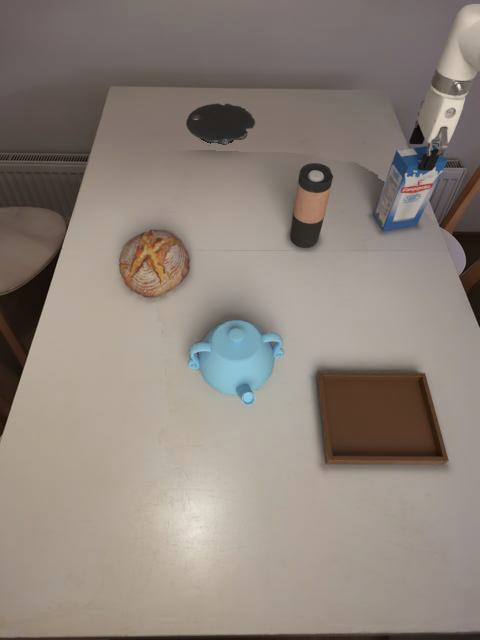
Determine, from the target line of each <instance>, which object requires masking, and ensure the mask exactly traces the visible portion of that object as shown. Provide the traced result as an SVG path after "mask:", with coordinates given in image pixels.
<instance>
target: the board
mask: <svg viewBox="0 0 480 640" xmlns="http://www.w3.org/2000/svg"><path fill="white" fill-rule="evenodd" d="M195 119H198V120H195ZM185 125H186V126H185V127H186V129H187V130H188V132H189V133H190V134H191V135H192V136H194V137H196V138H197V137H198V138H200V139H201V140H203V141H205V142H207V143H210V144H211V143H218V144H222V145H227V144H229V143H232V142H233V141H234V140H241V141H244V140H245V139H246V138H247V137H248V134H249V133H248V132H249V131H248V130H250V129H254V128H255V126H256V120H255V118H254V117H253V115H252V114H251V112H250V111H248V110H247V109H246V108H245V107H242V106H240V105H235V104H231V103H225V104H222V103H218V102H217V103H209V104H204V105H201V106H198V107H197V108H196V109H194V110H192V111H191V113H189V114H188V116H187V119H186V123H185ZM198 138H197V139H198ZM200 139H199V140H200ZM201 140H200V141H201Z"/></svg>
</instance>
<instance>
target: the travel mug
mask: <svg viewBox="0 0 480 640" xmlns="http://www.w3.org/2000/svg"><path fill="white" fill-rule="evenodd" d="M333 179H334V174H333V173H332V171H331V168H330V167H329V166H328V165H327V164H323V163H319V162H310V163H307V164H304V165H303V166H302V167H300V170H299V174H298V179H297V186H296V193H295V196H294V197H295V198H294V204H293V209H292V210H293V211H292V219H291V226H290V227H291V228H290V241H291V243H292V244H293V245H295V246H296V247H298V248H301V249H310V248H313V247H314V246H316V244H317V243H318V241H319V238H320V234H321V231H322V226H323V223H324V219H325V216H326V212H327V207H328V203H329V198H330V193H331V189H332V184H333Z"/></svg>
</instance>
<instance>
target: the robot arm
mask: <svg viewBox="0 0 480 640" xmlns="http://www.w3.org/2000/svg"><path fill="white" fill-rule="evenodd" d="M478 72H479V73H480V3H471V4H466V5H465V6H463V7H462V8H460V9H459V10H458V12H457V13H456V15H455V18H454V21H453V22H452V26H451V28H450V31H449V34H448V36H447V39H446V42H445V44H444V47H443V50H442V51H441V55H440V58H439V60H438V62H437V65H436V67H435V70H434V73H433V76H432V78H431V81H430V83H429V88H428V91H427V93H426V95H425V97H424V99H423V100H422V101H421V103H420V109H419V112H418V113H417V119H416V121H415V122H414V128H413V130H412V133H411V136H410V138H409V140H408V143H409V145H423V144H424V142H426V143H427V146H428V147H427V153H425V154H424V156H423V158H422V161H421V163H420V165H419V170H433V169H434V167H435V164H436V162H437V160H438V158H439V157H440V156H441V155H443V154H444V153H445V152H446V151H447V149H448V147H449V143H450V141H451V139H452V137H453V136H454V133H455V130H456V128H457V125H458V123H459V120H460V117H461V115H462V112H463V109H464V105H465V101H466V96H467V95H468V94H469V91H470V90H471V87H472V85H473V83H474V81H475V78H476V77H477V74H478ZM435 138H438V139H435ZM432 145H437V147H436V148H435V149H433V150H432Z"/></svg>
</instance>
